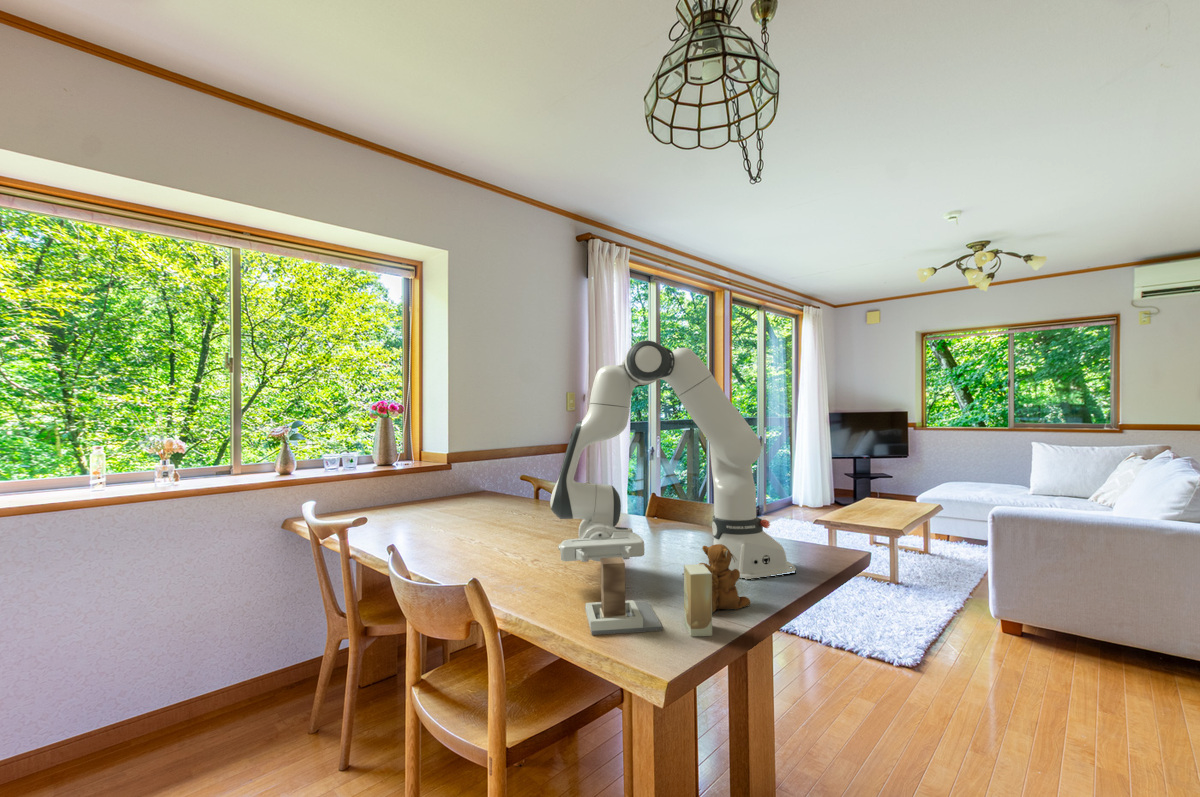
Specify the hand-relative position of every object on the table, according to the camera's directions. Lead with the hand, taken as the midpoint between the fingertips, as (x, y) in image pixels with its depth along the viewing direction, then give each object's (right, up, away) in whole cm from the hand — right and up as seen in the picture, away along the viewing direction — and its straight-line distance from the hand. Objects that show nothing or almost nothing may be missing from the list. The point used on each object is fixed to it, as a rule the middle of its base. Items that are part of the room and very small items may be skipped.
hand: (605, 557), depth 123 cm
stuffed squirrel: (+24, -10, -4) cm, 26 cm away
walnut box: (+1, -9, -12) cm, 15 cm away
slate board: (+3, -10, -10) cm, 15 cm away
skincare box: (+18, -10, -16) cm, 26 cm away
